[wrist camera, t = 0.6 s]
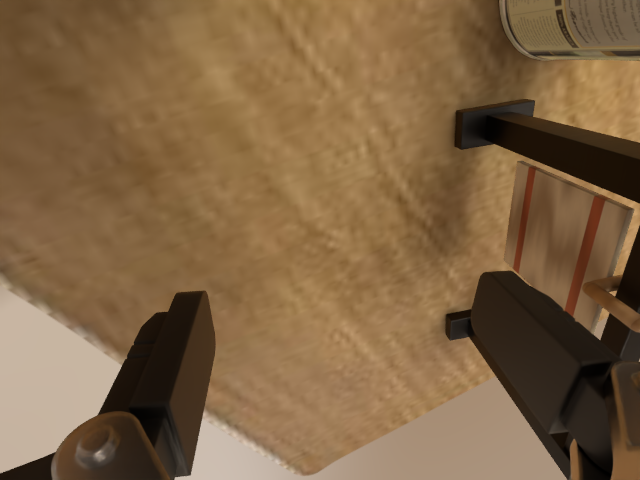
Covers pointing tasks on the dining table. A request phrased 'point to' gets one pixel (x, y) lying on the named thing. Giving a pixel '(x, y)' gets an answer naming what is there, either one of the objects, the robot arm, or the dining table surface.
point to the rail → (581, 162)
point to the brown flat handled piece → (568, 244)
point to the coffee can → (573, 28)
